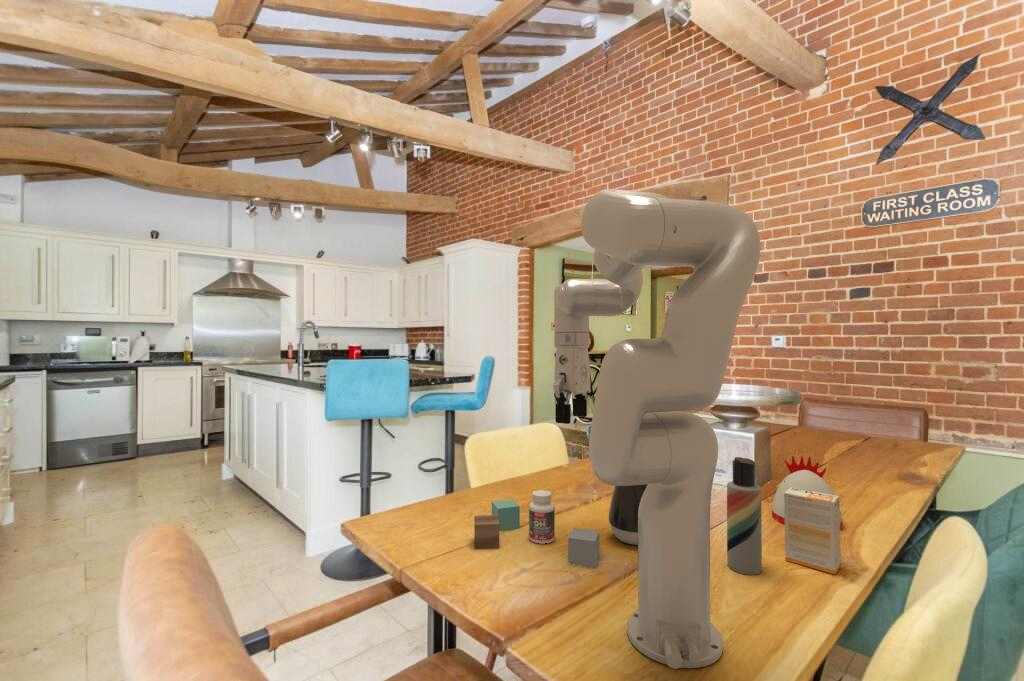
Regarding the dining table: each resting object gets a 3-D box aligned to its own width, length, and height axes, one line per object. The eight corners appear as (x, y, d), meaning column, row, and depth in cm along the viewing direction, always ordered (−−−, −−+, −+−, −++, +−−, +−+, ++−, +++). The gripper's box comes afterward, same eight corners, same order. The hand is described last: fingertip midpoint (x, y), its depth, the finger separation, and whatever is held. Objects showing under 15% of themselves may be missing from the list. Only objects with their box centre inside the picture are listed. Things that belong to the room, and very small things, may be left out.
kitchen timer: (773, 506, 119) (773, 447, 119) (839, 516, 112) (839, 453, 112) (770, 525, 107) (770, 458, 107) (845, 538, 100) (844, 467, 100)
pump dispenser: (624, 553, 93) (624, 476, 93) (600, 533, 103) (600, 463, 103) (669, 547, 95) (669, 472, 95) (642, 528, 105) (642, 459, 105)
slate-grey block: (594, 568, 87) (594, 541, 87) (568, 564, 88) (567, 537, 88) (599, 557, 91) (599, 531, 91) (574, 553, 93) (573, 527, 93)
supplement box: (841, 566, 87) (841, 495, 87) (835, 575, 84) (835, 501, 84) (791, 552, 93) (791, 485, 93) (783, 560, 90) (783, 491, 90)
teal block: (519, 528, 105) (519, 506, 105) (498, 531, 104) (498, 508, 104) (512, 520, 110) (512, 499, 110) (491, 523, 108) (491, 501, 109)
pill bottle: (534, 546, 96) (534, 498, 96) (525, 535, 101) (525, 490, 101) (558, 542, 98) (558, 495, 98) (549, 532, 103) (549, 487, 103)
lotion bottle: (731, 557, 91) (731, 453, 91) (764, 566, 87) (764, 458, 87) (723, 568, 86) (722, 459, 86) (757, 578, 83) (757, 464, 83)
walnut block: (499, 548, 95) (499, 523, 95) (474, 549, 95) (474, 524, 95) (498, 538, 100) (498, 514, 100) (474, 539, 100) (474, 515, 100)
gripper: (573, 341, 93) (573, 427, 93) (600, 340, 109) (600, 415, 109) (538, 341, 97) (539, 424, 97) (570, 340, 112) (570, 413, 112)
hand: (571, 419), depth 103 cm, fingers open, 9 cm apart
